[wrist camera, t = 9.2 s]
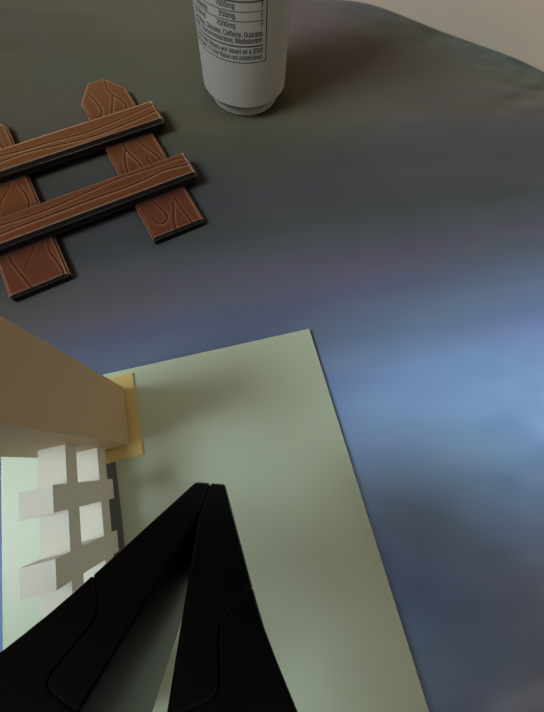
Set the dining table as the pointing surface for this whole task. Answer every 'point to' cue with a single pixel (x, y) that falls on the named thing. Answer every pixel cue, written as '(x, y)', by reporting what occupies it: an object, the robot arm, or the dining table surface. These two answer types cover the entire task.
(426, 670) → the dining table surface
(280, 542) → the mat
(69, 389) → the gate
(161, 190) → the decorative fence
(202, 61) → the energy drink can
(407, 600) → the dining table surface
